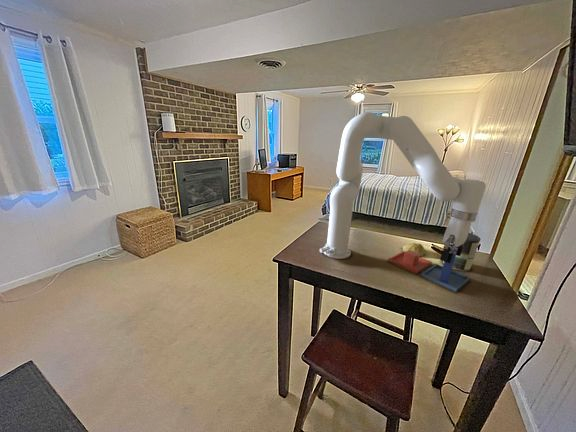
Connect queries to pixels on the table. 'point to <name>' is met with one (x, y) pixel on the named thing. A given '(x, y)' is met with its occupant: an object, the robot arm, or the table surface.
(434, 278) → the slate tray
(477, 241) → the coffee can
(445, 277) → the walkman
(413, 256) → the block
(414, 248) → the fossil
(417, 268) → the terracotta tray
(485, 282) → the table surface
